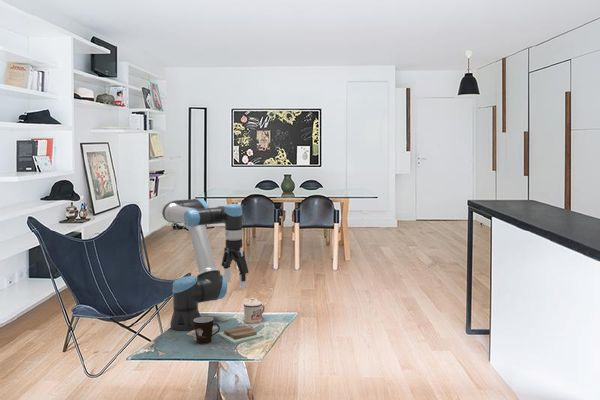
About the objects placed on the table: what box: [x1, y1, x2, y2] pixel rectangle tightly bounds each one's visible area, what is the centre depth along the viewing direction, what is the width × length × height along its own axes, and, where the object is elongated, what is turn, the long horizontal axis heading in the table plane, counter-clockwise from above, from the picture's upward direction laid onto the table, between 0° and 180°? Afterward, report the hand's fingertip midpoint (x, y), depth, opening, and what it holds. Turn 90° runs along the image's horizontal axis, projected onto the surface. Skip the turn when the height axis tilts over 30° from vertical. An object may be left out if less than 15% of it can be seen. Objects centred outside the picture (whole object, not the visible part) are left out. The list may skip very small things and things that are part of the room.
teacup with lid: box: [243, 297, 266, 324], centre depth 289 cm, size 12×9×12 cm
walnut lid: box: [223, 325, 258, 340], centre depth 266 cm, size 11×11×2 cm
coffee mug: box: [194, 316, 221, 345], centre depth 258 cm, size 12×9×10 cm
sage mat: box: [216, 331, 265, 345], centre depth 266 cm, size 16×15×1 cm
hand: (234, 285), depth 265 cm, fingers open, 13 cm apart
